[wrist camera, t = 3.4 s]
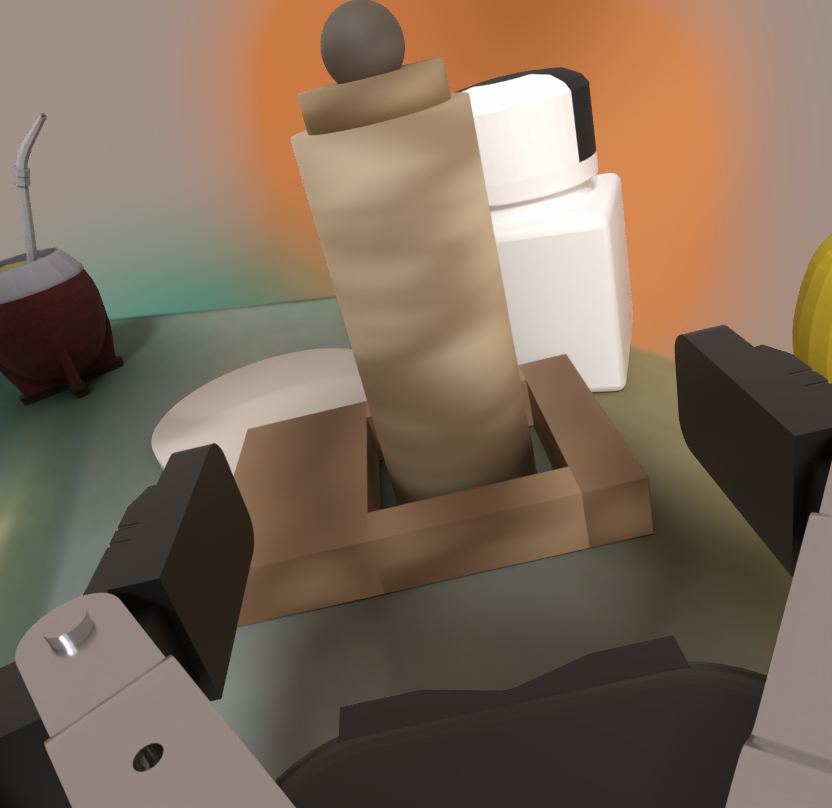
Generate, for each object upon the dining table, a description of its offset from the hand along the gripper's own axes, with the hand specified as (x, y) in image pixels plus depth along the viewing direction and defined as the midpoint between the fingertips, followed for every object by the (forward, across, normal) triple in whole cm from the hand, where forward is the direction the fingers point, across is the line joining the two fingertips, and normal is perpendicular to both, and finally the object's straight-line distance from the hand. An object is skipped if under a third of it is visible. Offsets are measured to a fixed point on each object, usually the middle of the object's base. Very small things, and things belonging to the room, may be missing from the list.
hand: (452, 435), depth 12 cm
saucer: (+19, +8, +8) cm, 22 cm away
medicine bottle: (+19, -5, +8) cm, 21 cm away
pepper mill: (+10, 0, +8) cm, 13 cm away
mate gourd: (+31, +22, +8) cm, 39 cm away
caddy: (+10, +1, +8) cm, 13 cm away
